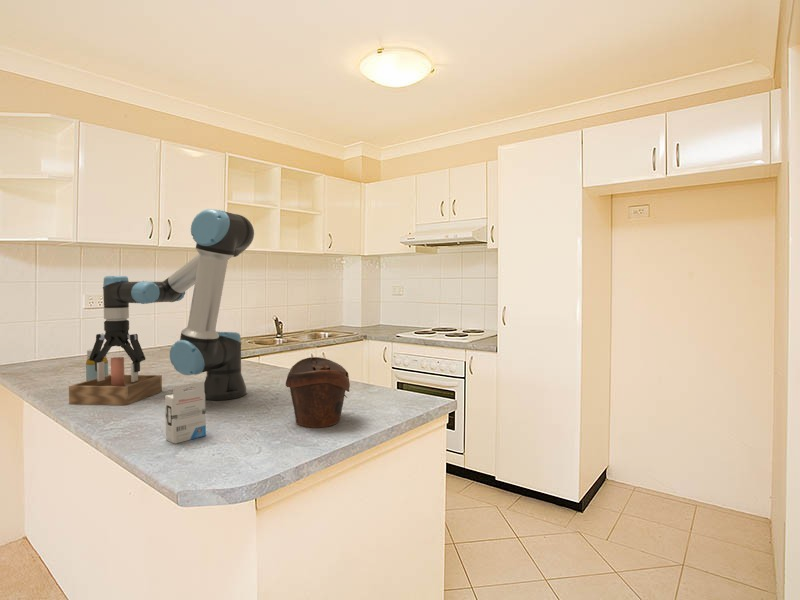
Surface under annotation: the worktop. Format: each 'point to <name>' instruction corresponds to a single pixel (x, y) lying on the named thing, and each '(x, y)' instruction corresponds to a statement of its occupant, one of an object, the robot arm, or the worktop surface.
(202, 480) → the worktop surface
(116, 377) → the peg
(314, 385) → the chocolate muffin
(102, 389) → the crate
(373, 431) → the worktop surface
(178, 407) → the ink box
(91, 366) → the bottle
